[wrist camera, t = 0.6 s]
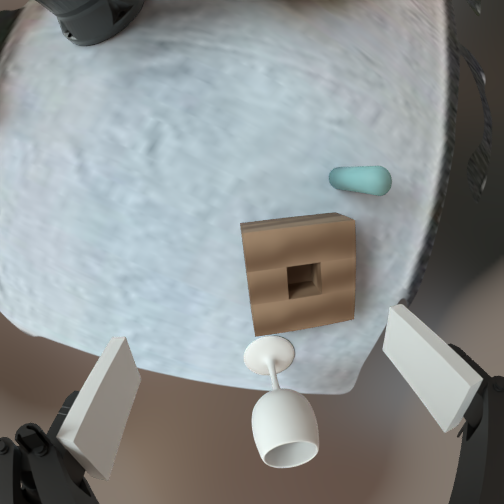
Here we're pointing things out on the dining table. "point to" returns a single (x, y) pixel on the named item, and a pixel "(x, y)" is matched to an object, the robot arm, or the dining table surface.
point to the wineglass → (280, 409)
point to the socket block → (300, 271)
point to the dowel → (362, 179)
